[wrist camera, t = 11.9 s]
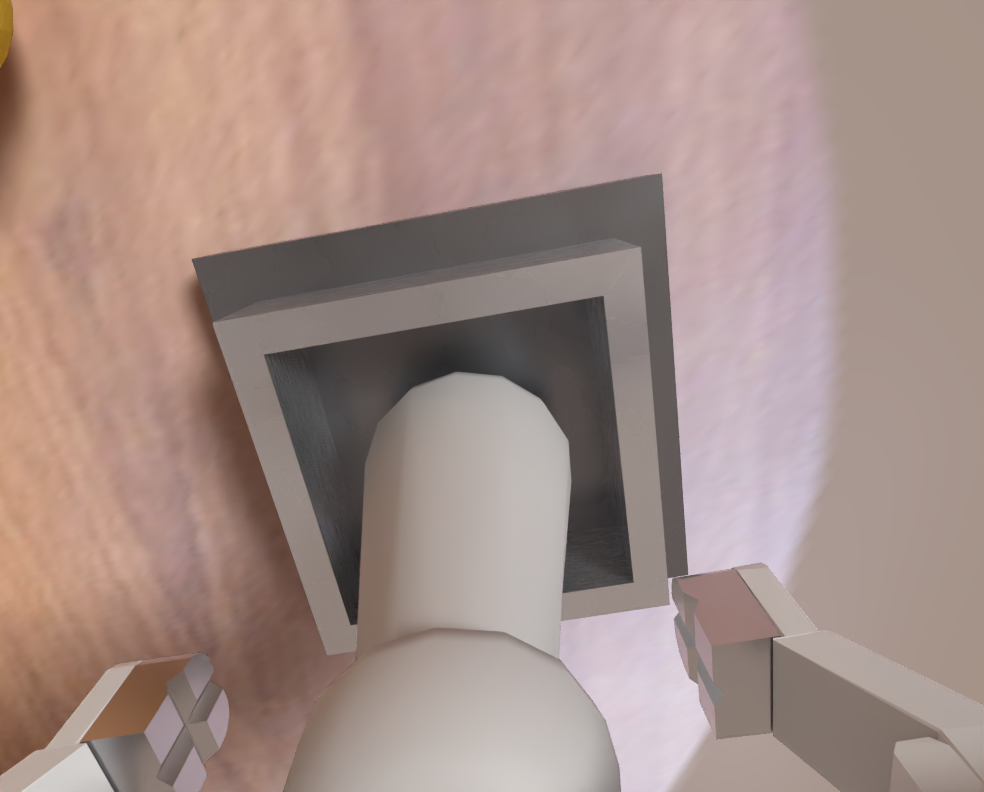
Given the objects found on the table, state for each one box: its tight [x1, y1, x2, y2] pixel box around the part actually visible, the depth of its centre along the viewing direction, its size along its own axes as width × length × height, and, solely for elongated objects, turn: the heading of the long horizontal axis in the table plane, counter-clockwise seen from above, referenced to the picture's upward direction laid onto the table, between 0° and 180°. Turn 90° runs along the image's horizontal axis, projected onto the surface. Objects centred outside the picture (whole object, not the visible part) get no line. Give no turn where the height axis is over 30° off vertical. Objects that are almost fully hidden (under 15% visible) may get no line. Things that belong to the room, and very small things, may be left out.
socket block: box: [192, 173, 688, 656], centre depth 18 cm, size 14×14×4 cm
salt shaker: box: [283, 372, 621, 792], centre depth 12 cm, size 6×6×13 cm
